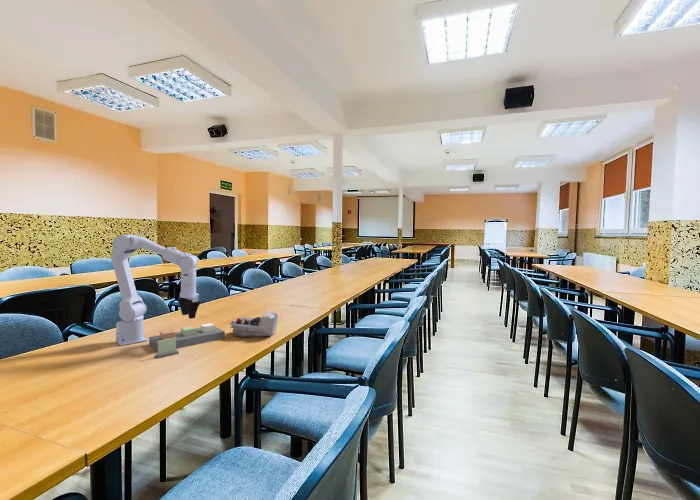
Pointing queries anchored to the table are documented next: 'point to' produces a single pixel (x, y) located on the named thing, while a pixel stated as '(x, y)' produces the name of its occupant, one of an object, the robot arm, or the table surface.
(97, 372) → the table surface
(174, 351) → the card
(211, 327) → the cream block
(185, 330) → the sage block
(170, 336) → the terracotta block
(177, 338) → the button board
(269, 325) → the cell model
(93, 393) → the table surface
